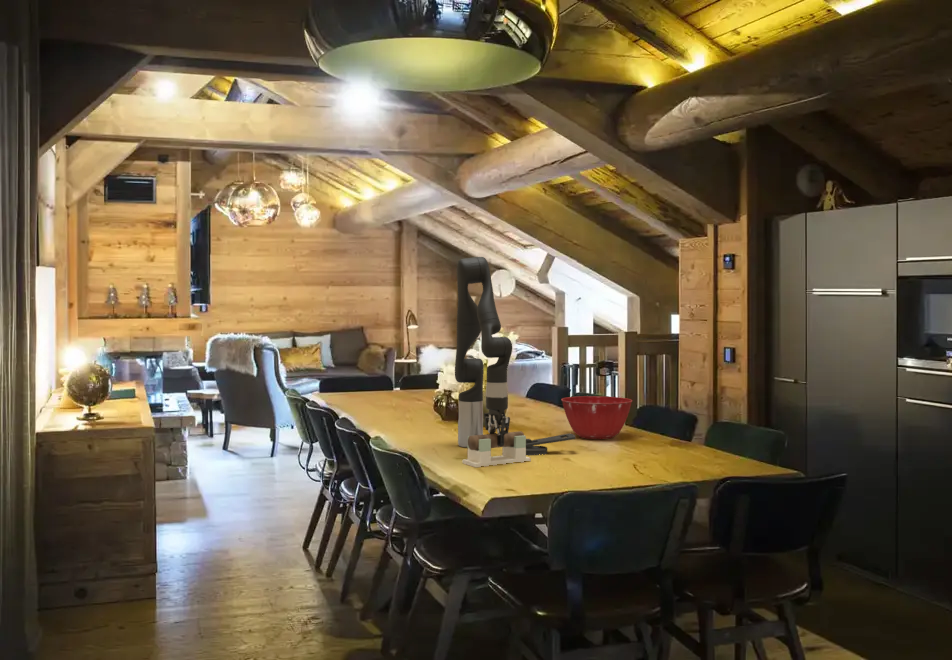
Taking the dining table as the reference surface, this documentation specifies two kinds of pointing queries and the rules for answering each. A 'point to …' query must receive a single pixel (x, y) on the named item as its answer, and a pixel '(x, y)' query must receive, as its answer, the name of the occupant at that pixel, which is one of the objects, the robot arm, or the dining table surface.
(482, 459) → the white cradle stand
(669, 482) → the dining table surface
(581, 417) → the mixing bowl
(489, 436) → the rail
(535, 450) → the zipper pull
